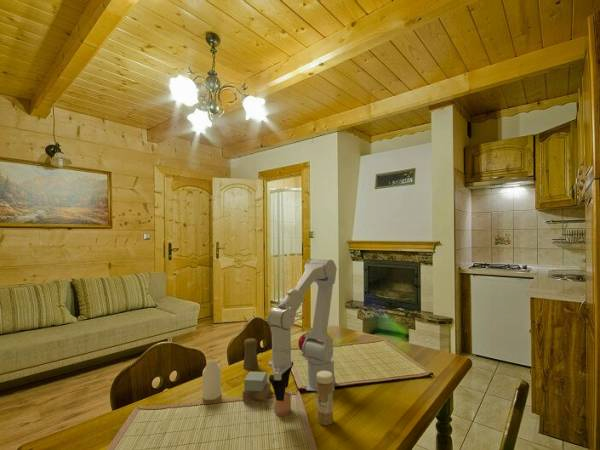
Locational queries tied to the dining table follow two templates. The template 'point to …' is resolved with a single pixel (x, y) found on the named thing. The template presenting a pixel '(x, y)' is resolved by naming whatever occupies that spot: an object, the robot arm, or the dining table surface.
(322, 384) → the sprinkles bottle
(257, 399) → the walnut slab
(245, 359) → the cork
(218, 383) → the cream domed cylinder
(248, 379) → the slate-grey block
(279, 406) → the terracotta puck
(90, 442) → the dining table surface
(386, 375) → the dining table surface
